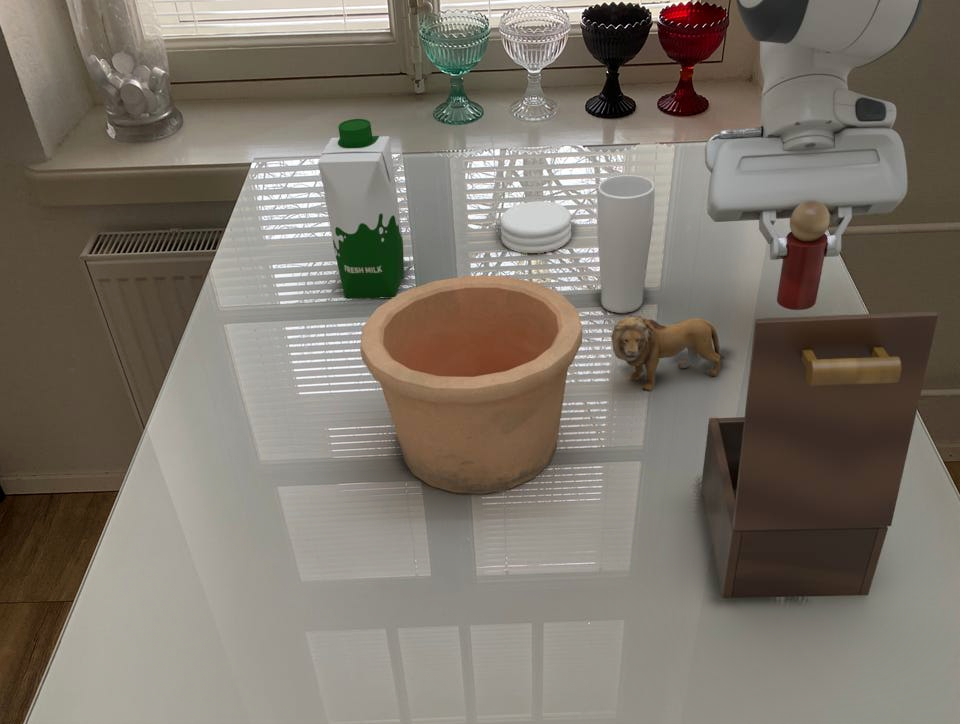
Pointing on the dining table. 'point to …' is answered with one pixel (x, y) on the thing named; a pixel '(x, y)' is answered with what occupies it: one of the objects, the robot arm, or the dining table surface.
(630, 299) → the drinking glass
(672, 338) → the lion figurine
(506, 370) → the pottery
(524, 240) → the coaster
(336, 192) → the milk carton
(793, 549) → the box
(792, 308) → the peg doll
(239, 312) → the dining table surface
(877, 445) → the lid
